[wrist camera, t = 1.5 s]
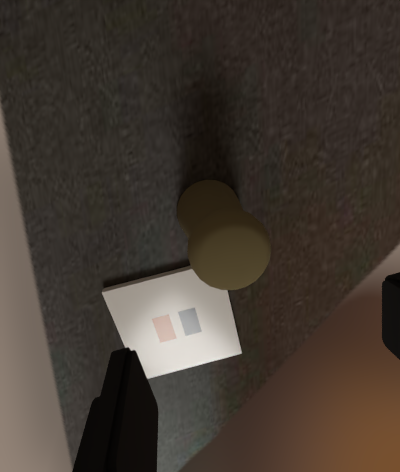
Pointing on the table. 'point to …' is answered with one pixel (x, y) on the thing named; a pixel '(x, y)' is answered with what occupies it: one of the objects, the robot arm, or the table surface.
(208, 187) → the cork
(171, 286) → the tile
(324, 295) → the table surface
